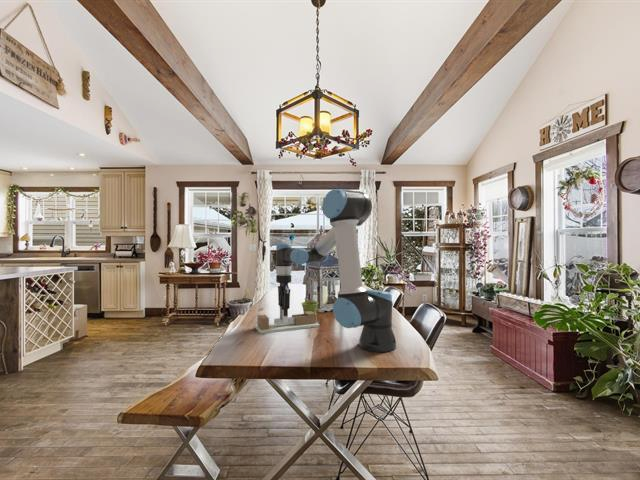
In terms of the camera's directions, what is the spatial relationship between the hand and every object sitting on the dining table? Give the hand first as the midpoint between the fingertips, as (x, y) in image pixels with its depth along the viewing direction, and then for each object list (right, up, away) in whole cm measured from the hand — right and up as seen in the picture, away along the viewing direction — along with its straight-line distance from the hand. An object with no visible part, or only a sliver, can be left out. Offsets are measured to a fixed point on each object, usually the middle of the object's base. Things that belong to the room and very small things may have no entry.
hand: (283, 321), depth 170 cm
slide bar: (+4, -2, +2) cm, 4 cm away
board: (+2, -3, +1) cm, 4 cm away
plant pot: (+12, -3, +19) cm, 23 cm away
